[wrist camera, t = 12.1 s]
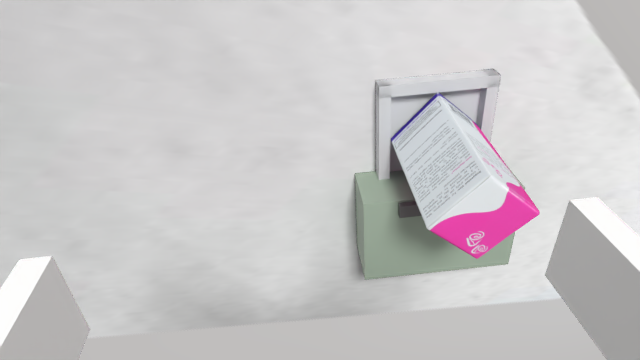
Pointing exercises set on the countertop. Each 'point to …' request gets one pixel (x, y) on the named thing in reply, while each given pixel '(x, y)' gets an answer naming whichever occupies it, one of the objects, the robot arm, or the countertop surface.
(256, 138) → the countertop surface
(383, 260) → the sliding drawer box
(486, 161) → the supplement box
